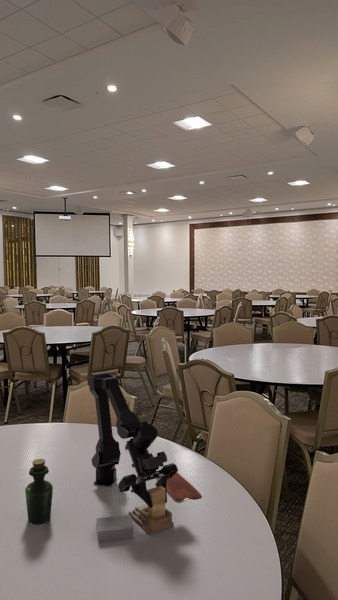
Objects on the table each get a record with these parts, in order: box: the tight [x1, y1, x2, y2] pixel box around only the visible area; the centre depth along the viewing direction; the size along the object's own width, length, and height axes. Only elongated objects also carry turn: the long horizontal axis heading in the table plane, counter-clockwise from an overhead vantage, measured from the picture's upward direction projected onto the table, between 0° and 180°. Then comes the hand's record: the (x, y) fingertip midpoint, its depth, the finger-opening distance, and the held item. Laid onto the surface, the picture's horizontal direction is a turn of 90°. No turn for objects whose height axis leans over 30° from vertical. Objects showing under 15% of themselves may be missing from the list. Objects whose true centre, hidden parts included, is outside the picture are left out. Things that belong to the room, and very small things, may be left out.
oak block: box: [147, 486, 166, 519], centre depth 134 cm, size 2×5×8 cm, turn 124°
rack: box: [128, 502, 175, 535], centre depth 137 cm, size 13×8×4 cm, turn 34°
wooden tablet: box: [158, 469, 202, 502], centre depth 162 cm, size 27×10×2 cm, turn 22°
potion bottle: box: [24, 458, 54, 525], centre depth 137 cm, size 8×8×18 cm
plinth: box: [95, 514, 135, 543], centre depth 130 cm, size 7×10×3 cm
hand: (159, 505), depth 133 cm, fingers closed on oak block, 5 cm apart
